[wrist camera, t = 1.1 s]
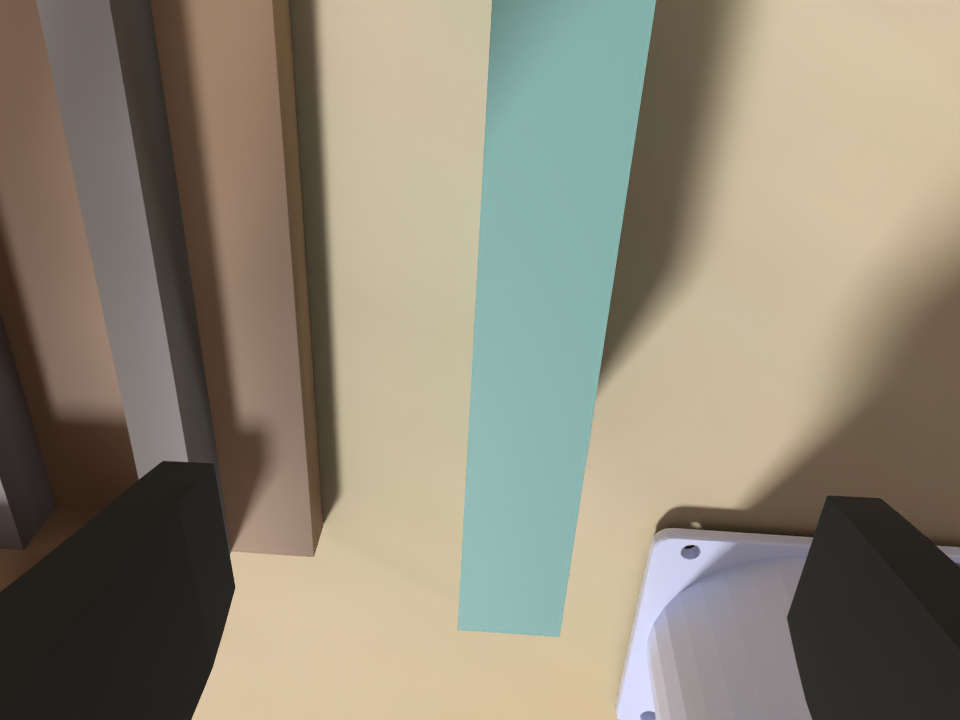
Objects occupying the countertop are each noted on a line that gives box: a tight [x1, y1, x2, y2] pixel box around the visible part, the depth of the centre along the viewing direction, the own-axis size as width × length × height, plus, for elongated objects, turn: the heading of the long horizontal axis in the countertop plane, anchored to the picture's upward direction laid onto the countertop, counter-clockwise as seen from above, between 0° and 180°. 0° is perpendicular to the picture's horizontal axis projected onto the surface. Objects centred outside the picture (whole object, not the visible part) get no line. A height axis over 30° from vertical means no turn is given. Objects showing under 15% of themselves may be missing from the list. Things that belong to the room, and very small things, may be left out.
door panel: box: [458, 0, 656, 637], centre depth 15 cm, size 2×12×6 cm, turn 177°
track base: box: [0, 0, 323, 592], centre depth 16 cm, size 10×18×4 cm, turn 177°
